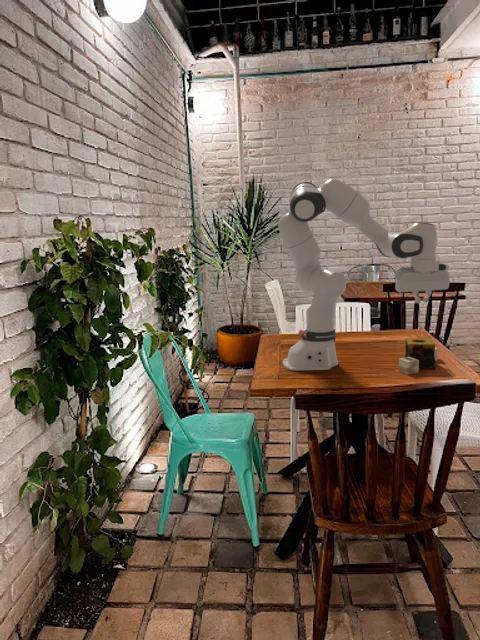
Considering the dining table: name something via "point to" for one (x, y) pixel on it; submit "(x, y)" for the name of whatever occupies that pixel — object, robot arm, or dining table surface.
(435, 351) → the cream block marked
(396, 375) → the dining table surface
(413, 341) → the candle
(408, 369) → the beech block marked
